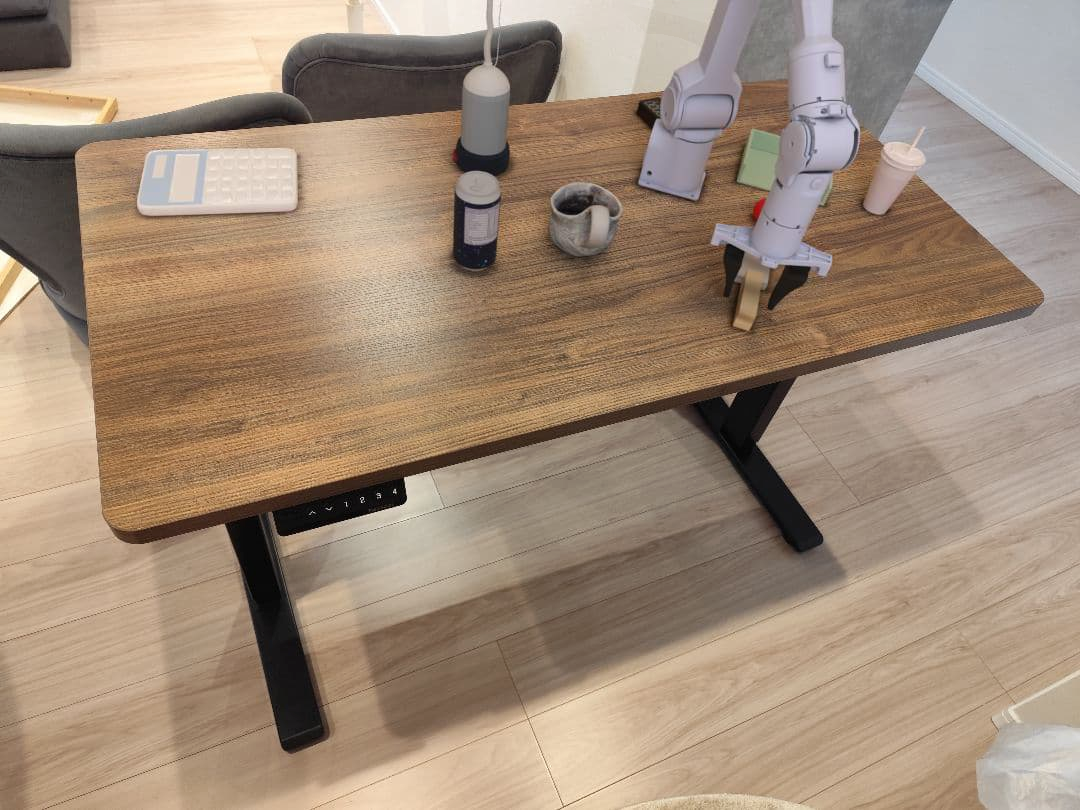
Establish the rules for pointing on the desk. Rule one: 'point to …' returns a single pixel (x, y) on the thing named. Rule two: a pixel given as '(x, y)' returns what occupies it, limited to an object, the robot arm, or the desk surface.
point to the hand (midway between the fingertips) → (748, 299)
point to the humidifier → (484, 114)
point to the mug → (583, 218)
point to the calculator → (218, 181)
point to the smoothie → (893, 174)
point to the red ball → (758, 208)
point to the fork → (749, 290)
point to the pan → (763, 162)
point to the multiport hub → (649, 110)
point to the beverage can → (476, 220)
